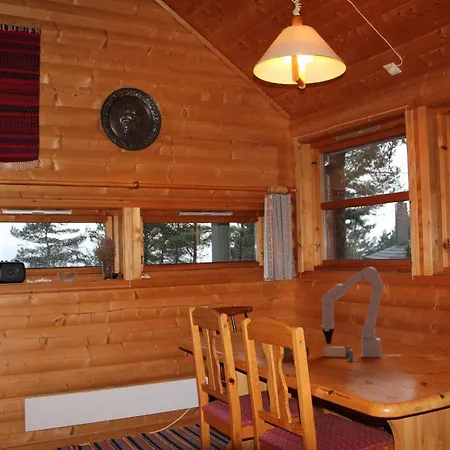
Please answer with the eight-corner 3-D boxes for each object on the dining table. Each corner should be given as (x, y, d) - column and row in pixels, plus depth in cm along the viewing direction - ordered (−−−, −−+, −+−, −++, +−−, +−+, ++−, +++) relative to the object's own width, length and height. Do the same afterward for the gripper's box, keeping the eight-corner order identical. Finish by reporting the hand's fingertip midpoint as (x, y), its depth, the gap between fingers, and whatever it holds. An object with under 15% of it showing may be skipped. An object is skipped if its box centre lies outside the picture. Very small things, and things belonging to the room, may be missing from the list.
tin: (278, 360, 304) (278, 342, 304) (281, 358, 307) (280, 341, 307) (308, 361, 297) (307, 344, 297) (310, 360, 300) (309, 343, 300)
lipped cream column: (344, 355, 308) (344, 346, 309) (344, 356, 306) (344, 346, 307) (324, 355, 311) (324, 345, 311) (324, 356, 309) (323, 346, 309)
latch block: (355, 359, 299) (354, 349, 300) (354, 361, 294) (354, 350, 295) (348, 359, 300) (348, 349, 300) (347, 361, 295) (347, 350, 295)
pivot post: (353, 356, 308) (352, 345, 309) (352, 357, 304) (352, 346, 304) (344, 356, 310) (343, 345, 310) (343, 357, 305) (343, 346, 306)
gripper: (321, 315, 324) (322, 341, 324) (318, 318, 310) (319, 345, 310) (335, 315, 322) (336, 341, 322) (332, 318, 308) (333, 346, 308)
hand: (328, 343), depth 316 cm, fingers closed
